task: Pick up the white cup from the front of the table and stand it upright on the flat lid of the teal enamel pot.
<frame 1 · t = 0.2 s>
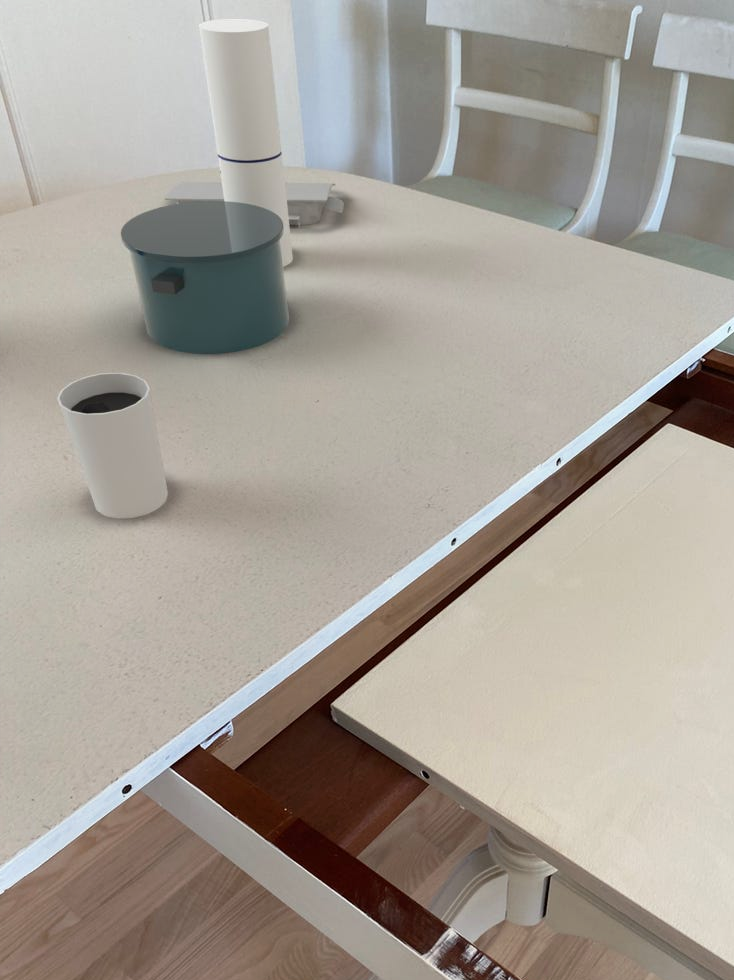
cylindrical container: (263, 265, 119), on the table
white cup: (133, 506, 80), on the table
pot: (219, 327, 105), on the table
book: (256, 216, 132), on the table
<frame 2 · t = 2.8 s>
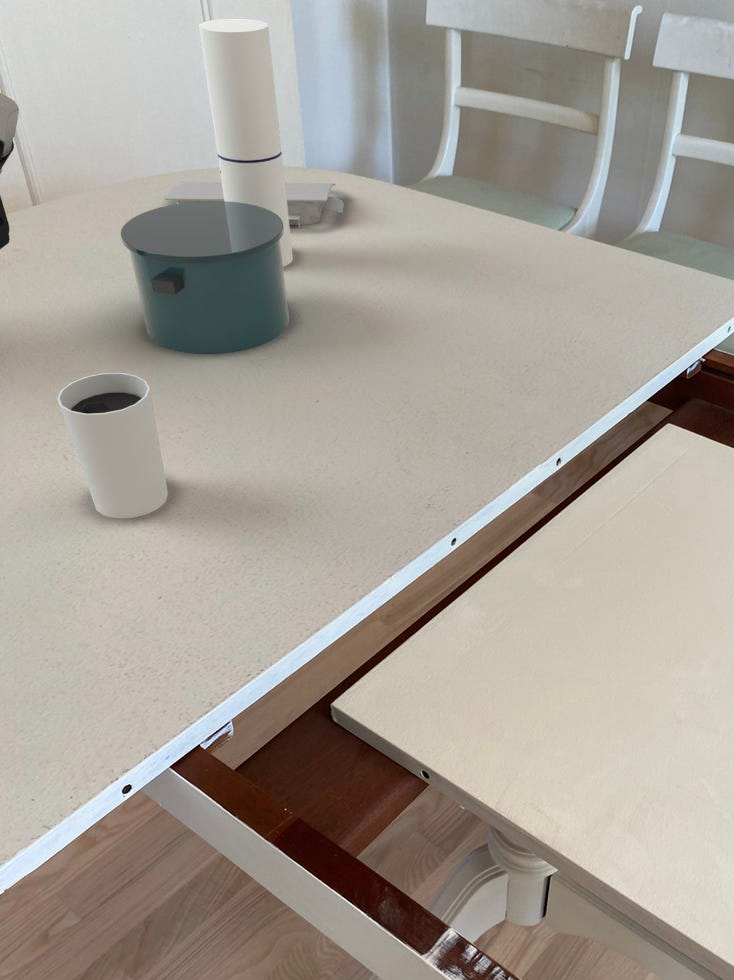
nothing on the table moved.
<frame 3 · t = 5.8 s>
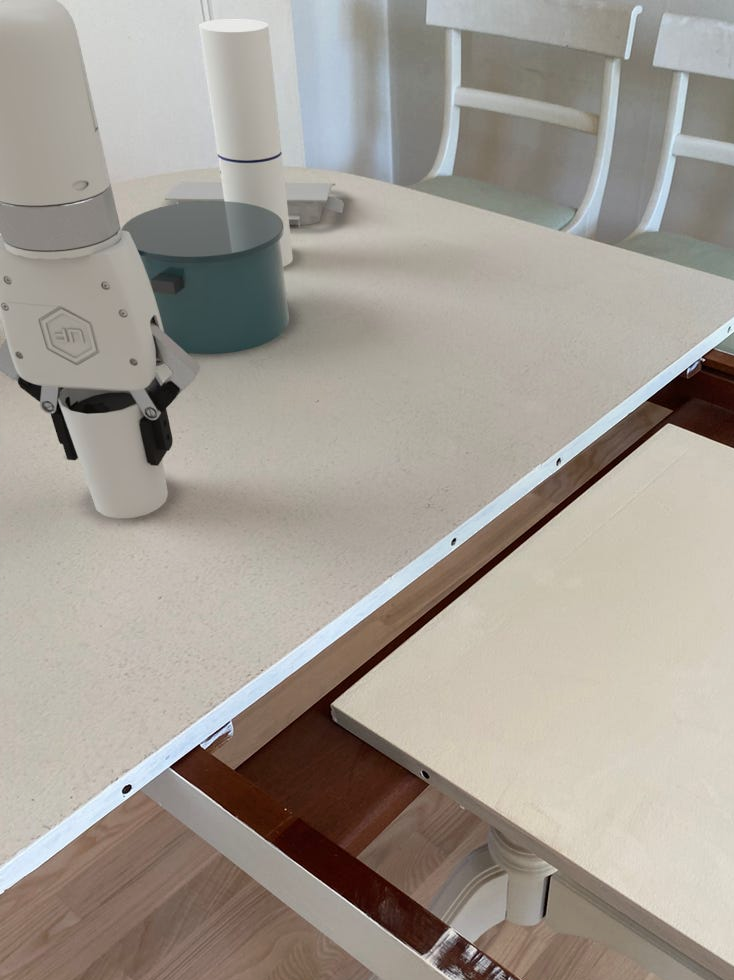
hand: (119, 451, 77), 5 cm above the table, tool pointing down, fingers closed on white cup, 5 cm apart
white cup: (133, 506, 80), on the table, touching gripper
everything else where it was.
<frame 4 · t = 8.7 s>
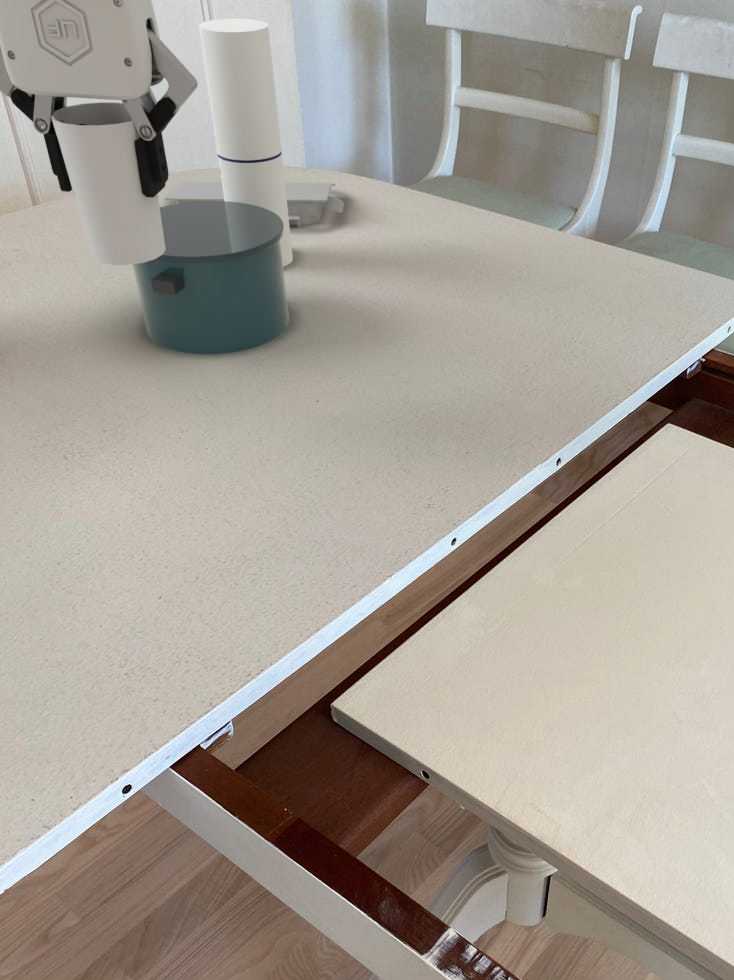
hand: (113, 186, 75), 21 cm above the table, tool pointing down, fingers closed on white cup, 5 cm apart
white cup: (128, 253, 78), point 16 cm above the table, touching gripper
everything else where it was.
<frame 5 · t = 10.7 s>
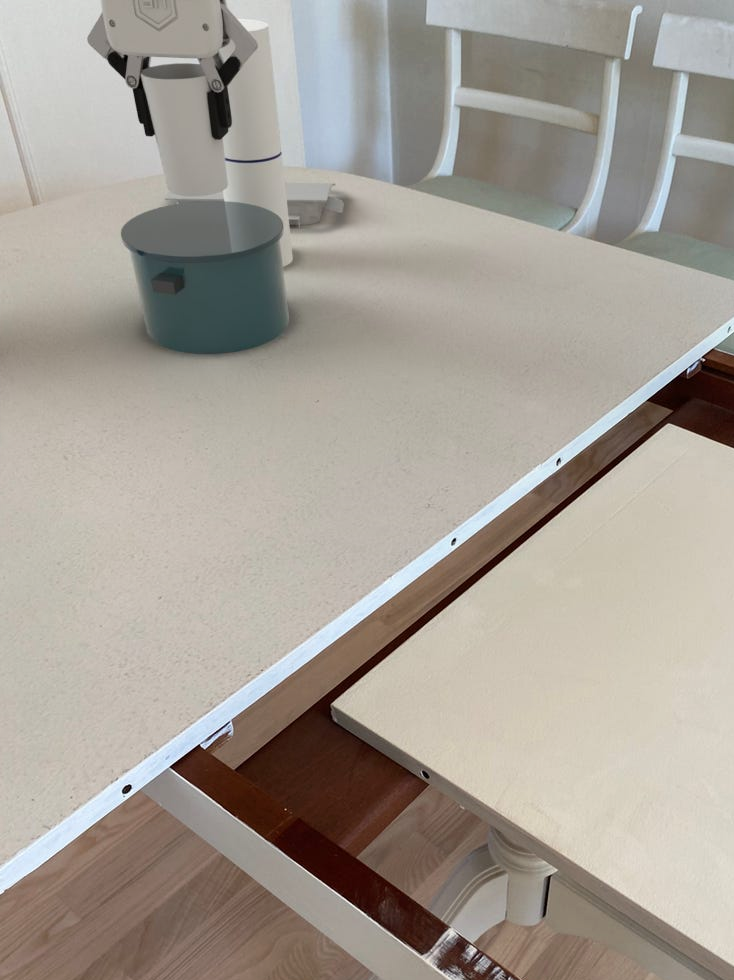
hand: (187, 132, 92), 19 cm above the table, tool pointing down, fingers closed on white cup, 5 cm apart
white cup: (198, 189, 95), point 14 cm above the table, touching gripper
everything else where it was.
when the fingers open (15 cm above the table, at t = 12.1 s): white cup stays where it is, resting on pot.
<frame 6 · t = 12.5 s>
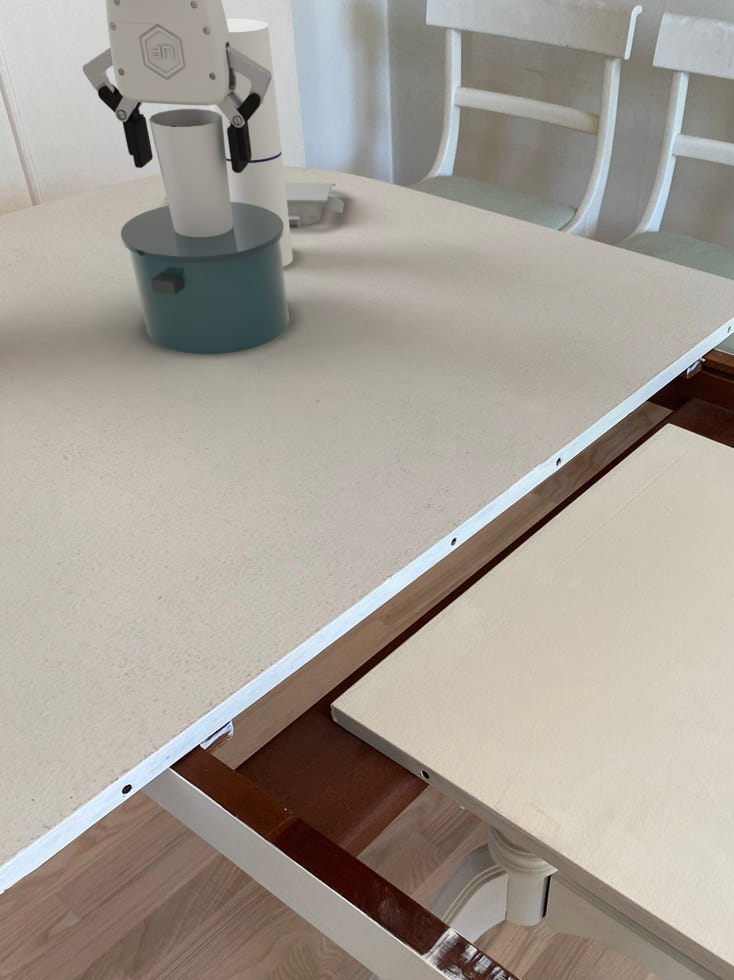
hand: (192, 166, 94), 16 cm above the table, tool pointing down, fingers open, 9 cm apart
white cup: (204, 229, 98), point 10 cm above the table, touching pot
everything else where it was.
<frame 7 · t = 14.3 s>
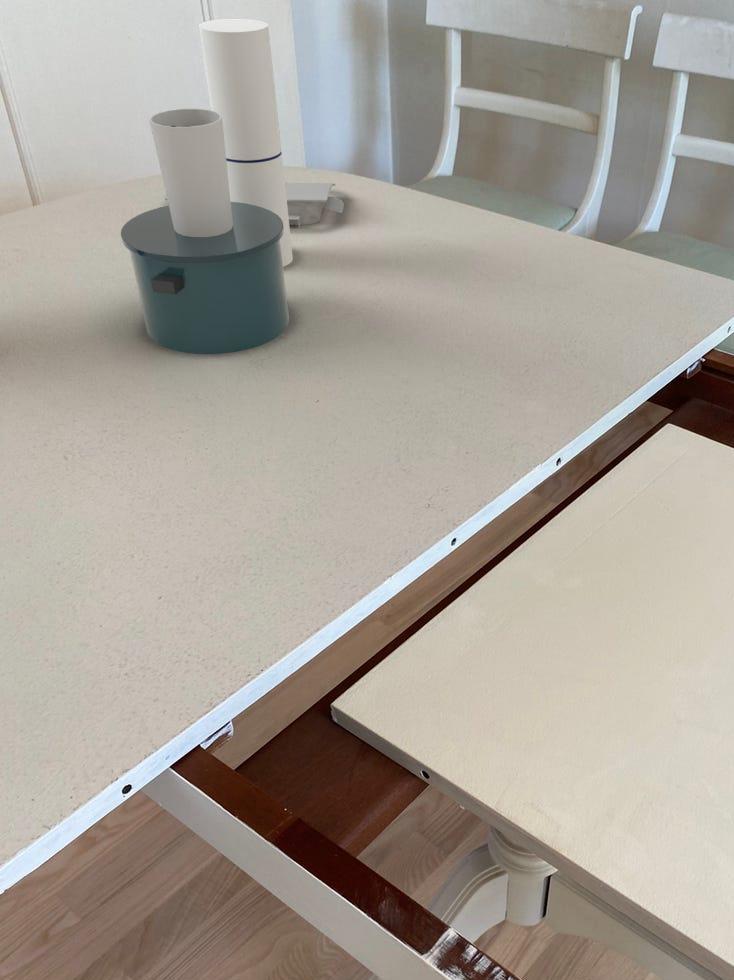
nothing on the table moved.
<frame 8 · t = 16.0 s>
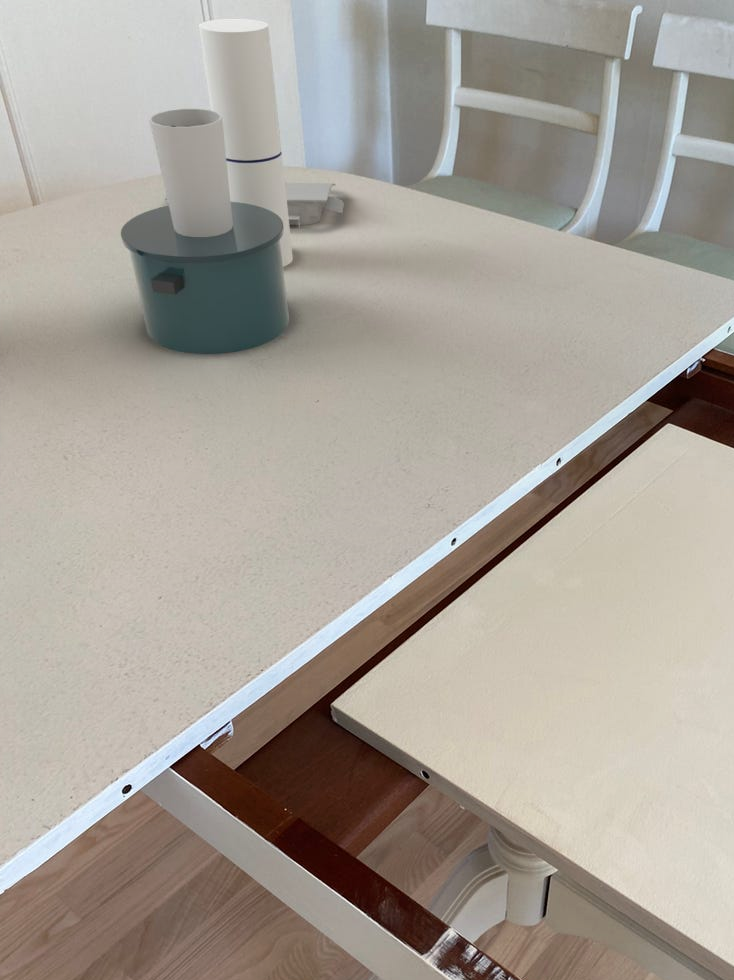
nothing on the table moved.
at the end: white cup 0.1 cm off-centre on the pot, point 10.4 cm above the pot's base; white cup tilted 0°; the gripper is holding nothing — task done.
